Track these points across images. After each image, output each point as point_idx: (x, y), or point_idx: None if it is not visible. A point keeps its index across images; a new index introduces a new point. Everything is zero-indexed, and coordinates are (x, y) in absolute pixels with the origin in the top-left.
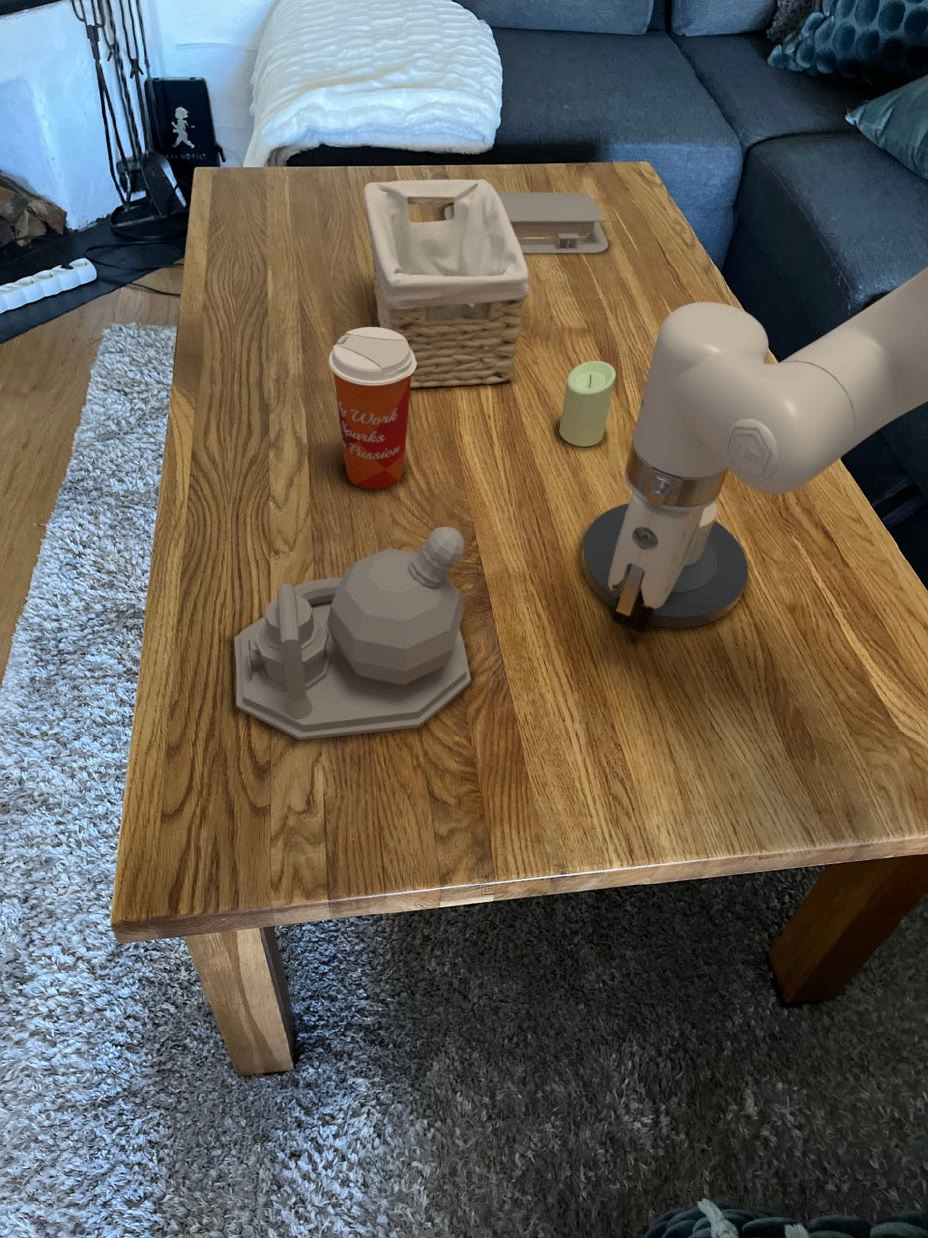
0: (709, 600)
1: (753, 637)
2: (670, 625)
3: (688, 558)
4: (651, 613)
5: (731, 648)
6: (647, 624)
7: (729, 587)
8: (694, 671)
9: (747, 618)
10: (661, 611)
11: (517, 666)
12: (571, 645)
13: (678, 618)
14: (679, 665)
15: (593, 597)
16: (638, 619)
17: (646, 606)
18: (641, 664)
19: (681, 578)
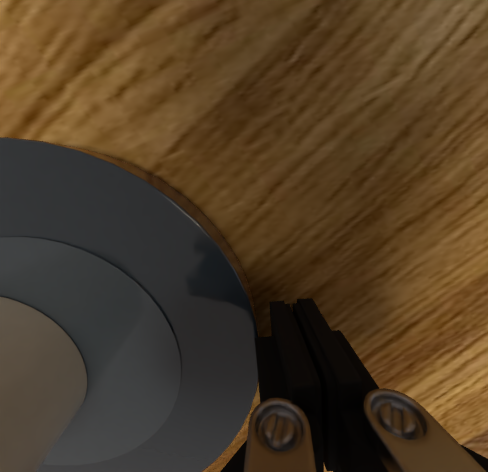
0: (108, 207)
1: (124, 52)
2: (232, 253)
3: (13, 332)
4: (292, 326)
5: (200, 93)
6: (311, 310)
7: (15, 177)
8: (323, 147)
9: (72, 96)
10: (233, 296)
11: (468, 422)
12: (381, 379)
13: (224, 251)
14: (324, 186)
15: None
16: (343, 347)
17: (423, 413)
18: (363, 257)
19: (90, 303)
